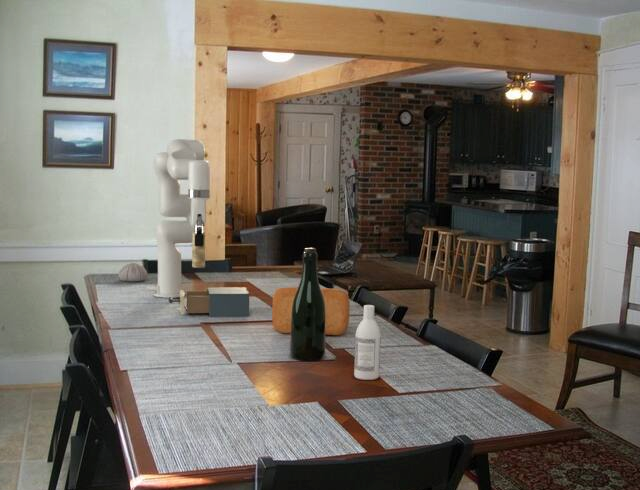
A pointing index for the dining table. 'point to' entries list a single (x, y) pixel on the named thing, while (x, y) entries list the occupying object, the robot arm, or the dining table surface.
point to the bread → (334, 310)
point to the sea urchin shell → (133, 273)
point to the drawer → (193, 301)
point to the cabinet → (228, 301)
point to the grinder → (198, 253)
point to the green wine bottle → (308, 313)
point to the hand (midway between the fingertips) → (198, 244)
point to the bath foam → (367, 347)
